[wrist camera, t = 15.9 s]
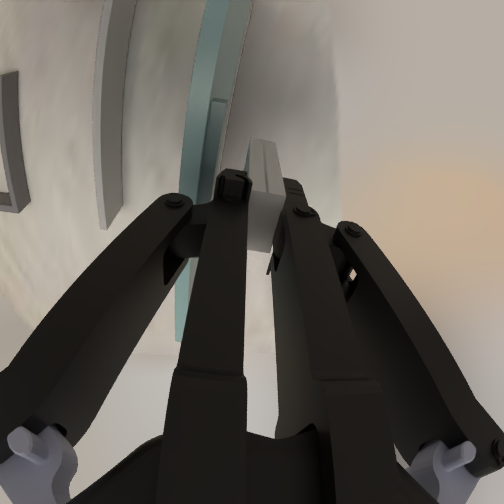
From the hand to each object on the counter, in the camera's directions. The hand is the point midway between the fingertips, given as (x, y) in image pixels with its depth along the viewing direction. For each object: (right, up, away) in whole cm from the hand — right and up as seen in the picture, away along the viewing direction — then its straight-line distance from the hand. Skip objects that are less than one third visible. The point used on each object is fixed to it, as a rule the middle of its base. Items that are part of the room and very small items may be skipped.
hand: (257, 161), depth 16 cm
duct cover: (-3, +1, 0) cm, 3 cm away
